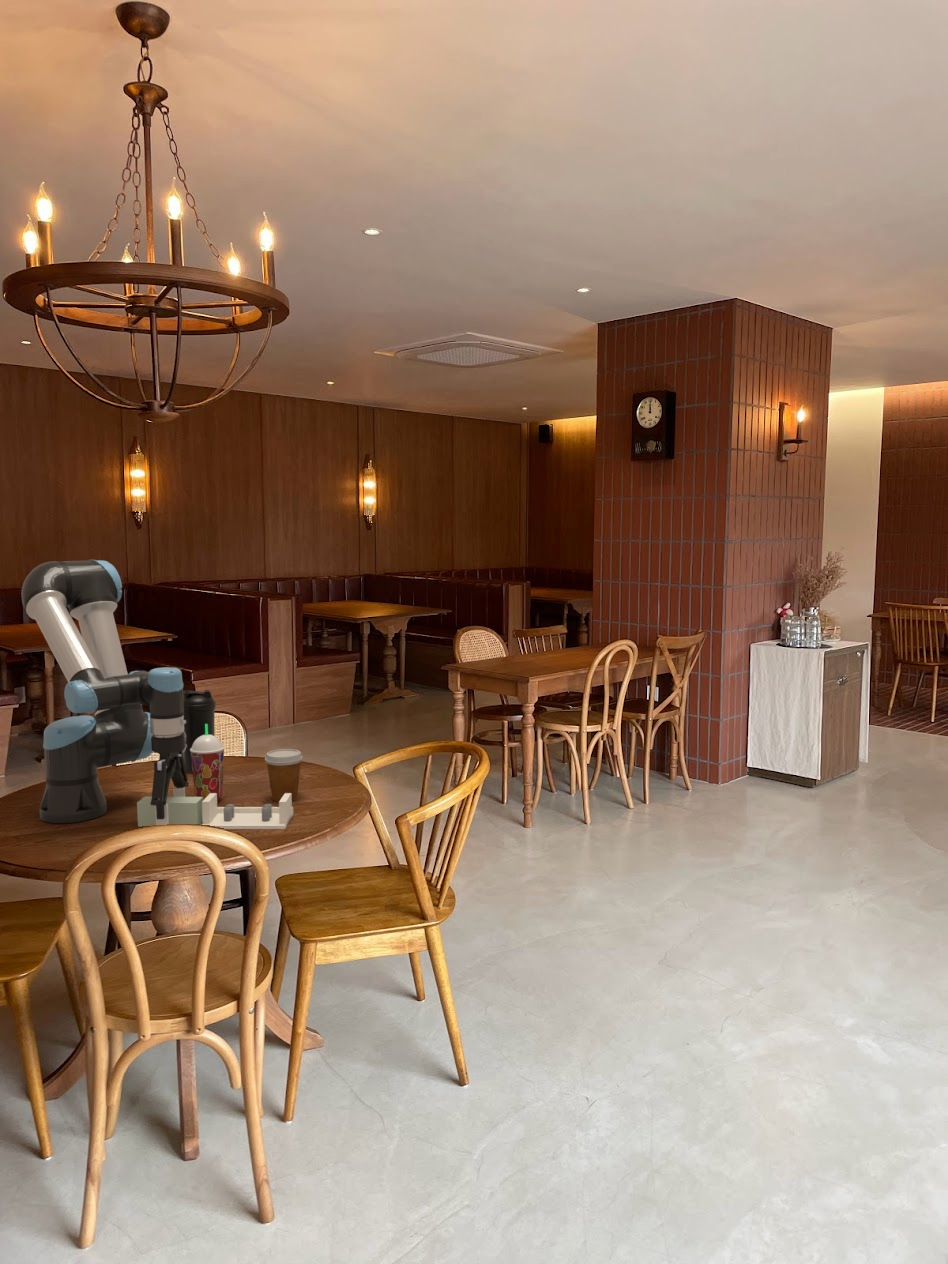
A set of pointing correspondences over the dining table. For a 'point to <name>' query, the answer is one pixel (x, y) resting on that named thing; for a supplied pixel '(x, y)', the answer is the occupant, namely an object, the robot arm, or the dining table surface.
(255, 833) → the dining table surface
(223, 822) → the peg cradle
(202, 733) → the water bottle
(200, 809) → the shelf block
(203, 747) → the smoothie
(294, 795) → the disposable coffee cup
